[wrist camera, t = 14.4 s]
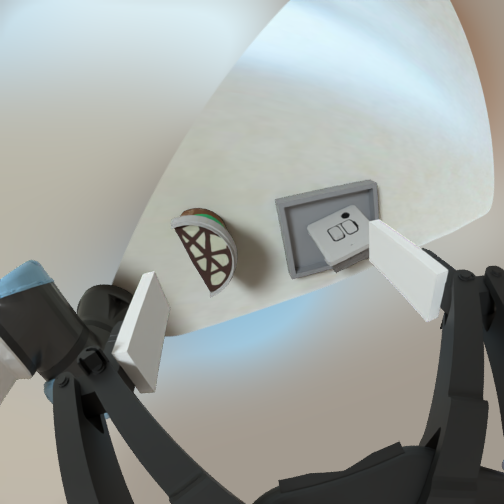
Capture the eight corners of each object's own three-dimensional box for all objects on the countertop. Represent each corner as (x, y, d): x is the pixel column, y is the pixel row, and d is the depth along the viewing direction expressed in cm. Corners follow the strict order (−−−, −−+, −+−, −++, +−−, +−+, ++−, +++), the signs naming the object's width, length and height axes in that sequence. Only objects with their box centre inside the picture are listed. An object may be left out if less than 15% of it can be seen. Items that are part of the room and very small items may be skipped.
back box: (288, 272, 49) (291, 279, 47) (274, 199, 43) (277, 203, 41) (373, 249, 49) (379, 255, 47) (369, 179, 43) (376, 182, 41)
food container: (246, 252, 47) (252, 284, 38) (213, 266, 47) (212, 300, 38) (215, 186, 42) (213, 204, 33) (179, 203, 42) (168, 224, 33)
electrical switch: (353, 202, 44) (381, 226, 36) (359, 227, 47) (386, 253, 39) (304, 225, 45) (324, 254, 37) (313, 249, 48) (333, 280, 40)
